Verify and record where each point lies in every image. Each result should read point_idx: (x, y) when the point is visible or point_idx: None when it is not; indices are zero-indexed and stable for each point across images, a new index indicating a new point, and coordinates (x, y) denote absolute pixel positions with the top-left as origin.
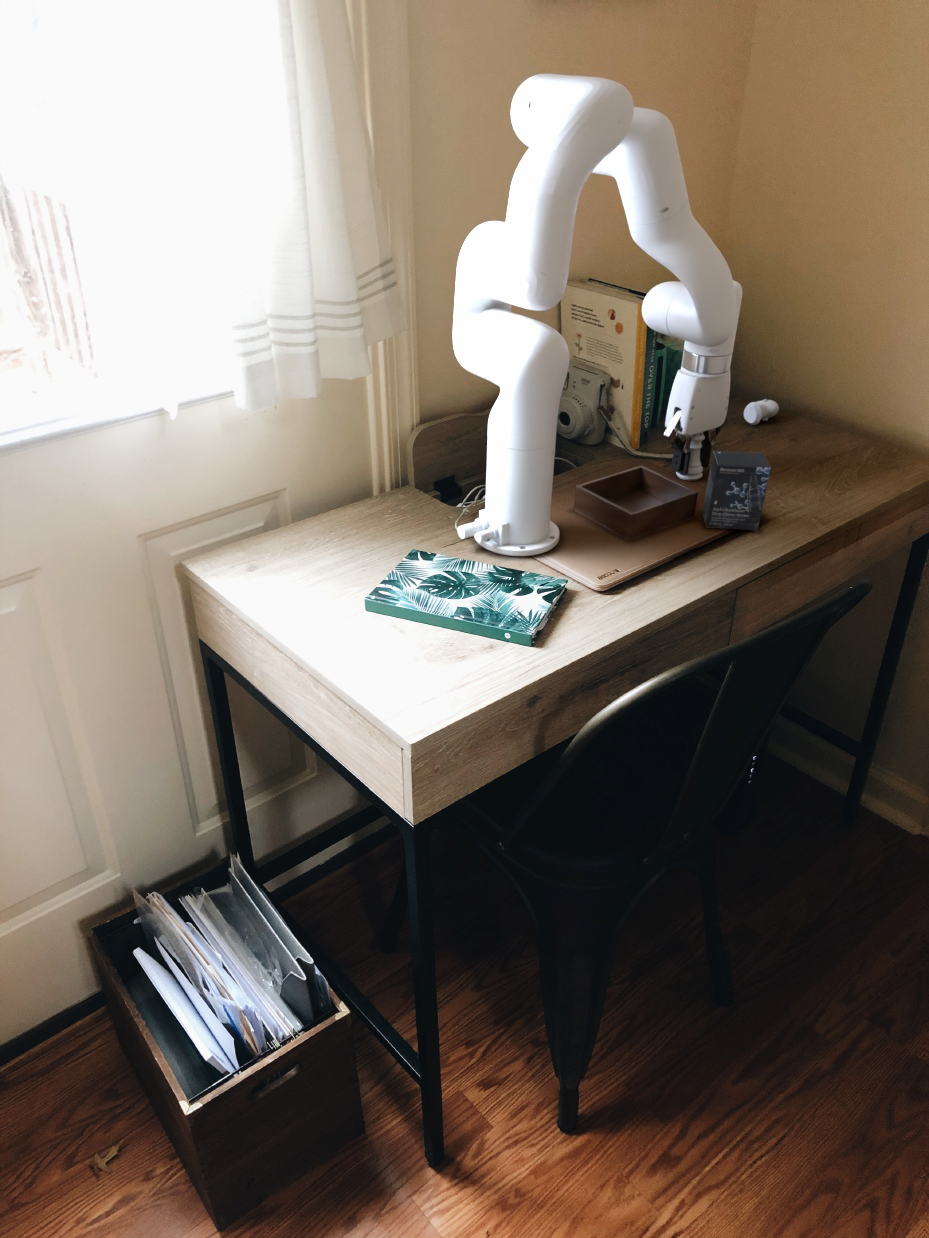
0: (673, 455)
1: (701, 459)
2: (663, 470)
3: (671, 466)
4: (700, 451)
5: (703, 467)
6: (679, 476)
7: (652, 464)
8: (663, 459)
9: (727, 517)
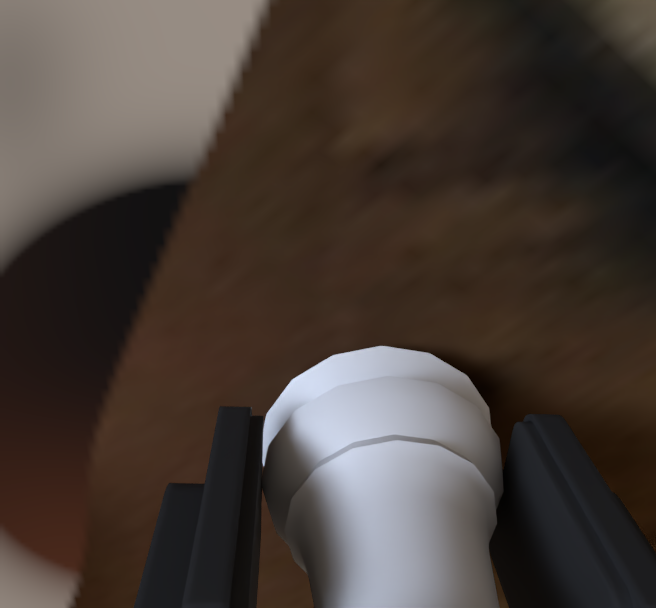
0: (198, 518)
1: (518, 553)
2: (296, 225)
3: (219, 416)
4: (551, 601)
5: None
6: (267, 433)
7: (323, 41)
8: (539, 20)
9: None
